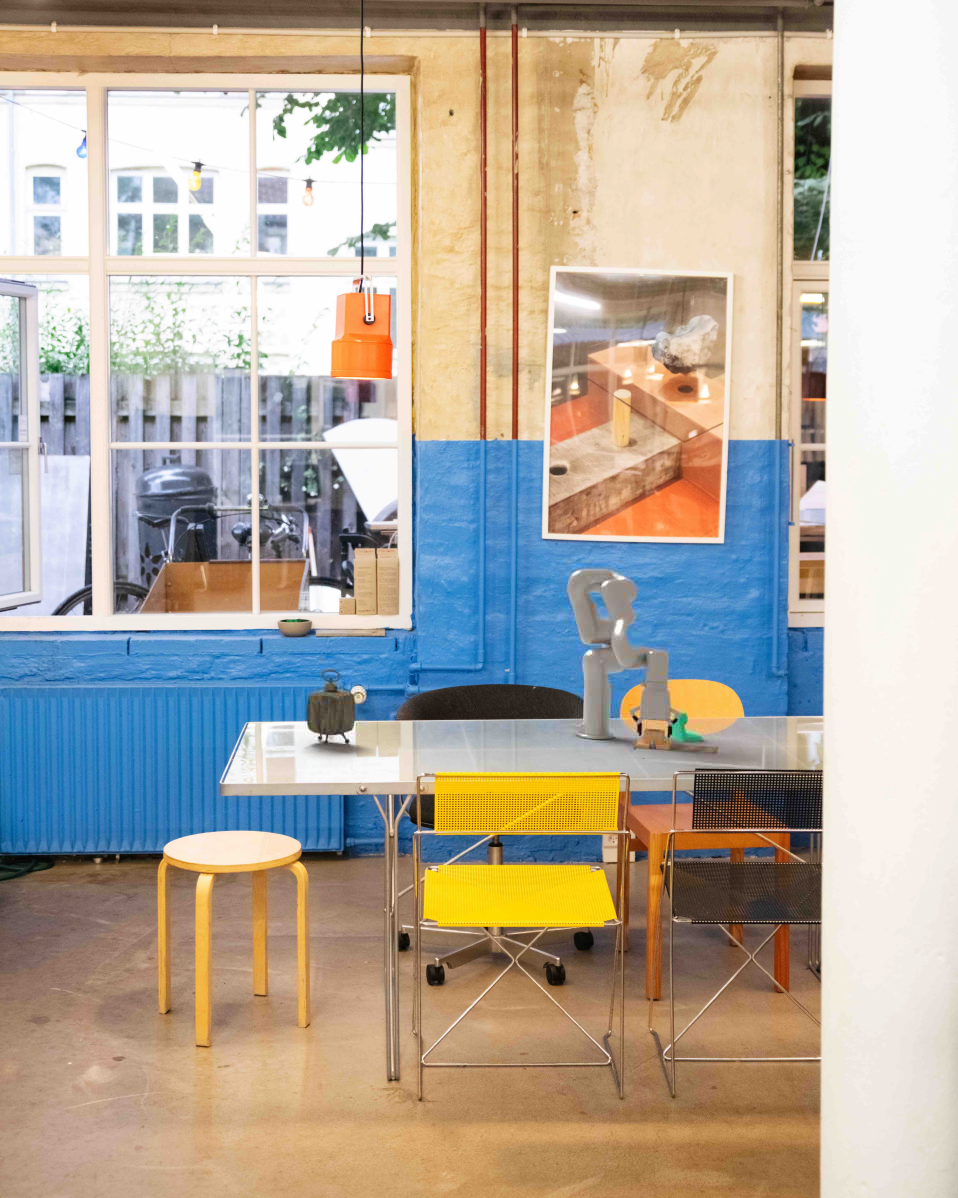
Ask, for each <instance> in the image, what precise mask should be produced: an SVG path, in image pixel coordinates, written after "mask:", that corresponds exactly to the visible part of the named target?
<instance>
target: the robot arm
mask: <svg viewBox="0 0 958 1198" xmlns="http://www.w3.org/2000/svg"><path fill="white" fill-rule="evenodd" d="M566 588H567V595H568V599H569V602H570V604H571V607H572V610H573V613H574V620H575V623H576V626H577V630H578V635H579V639H580V640H581V642H582V643H583V644H584V645H586V646H601V647H595V648H592V649H589V650H587V651H586V652H585V653H583V656H582V659H581V666H582V672H583V685H584V686H583V710H582V711H583V718H582V722H580V723H570V729H571V730H578V737H581V738H584V739H588V740H589V739H590V740H608V739H613V738H614V737H615V735H614V732H612V731H610V730H611V729H610V727H611V726H610V725H611V723H610V722H611V700H612V699H611V694H612V688H611V687H612V686H611V682H610V679H609V676H608V675H611V674H618V673H621V672H623V671H624V670H627V671H631V670H641V669H642V670H644V669H645V679H644V681H641V682H640V686H641V687H644V688H643V689H642V691H641V695H640V696H641V698H640V705H638V706H637V707H634V708H632V709H630V710H629V713H630V715H631V718H632V719H633V721H634V722H636V725H637V726H636V728H637V729H636V733H638V736H639V737H640V736H642V735H643V723H642V722H643V720H648V721H662V722H665V721H666V723H667V724H668V725H667V738H668V739H670V738H671V736H670V735H672V726H673V725H674V724H675V723H676V722H677V721H678V719H679V718H680V716H681V713H680V712H681V711H680V712H679V711H678V710H676V709H674V708H673V707H671V705H672V704H671V703H672V702H671V694H670V693H671V692H670V690H669V689H668V685H669V684H668V683H669V656H670V655H669V652H668V651H667V650H666V649H665V650H664V649H659V648H658V649H657V648H652V647H648V646H635V647H634V646H633V647H632V646H631V645H630V642H629V639H628V634H627V632H628V631H627V630H628V628H629V626H630V625H632V624H633V623H634V622H635V621H636V619H637V615H636V612H635V610H634V608H633V606H632V602H633V601H635V600H636V599H637V596H638V587H637V585H636V583H635V582H634V581H633V580H632V579H631V578H628V577H627V576H624V575H622V574H619V573H618V572H616V571H614V570H611V569H609V568H584V569H583V568H582V569H578V570H576V571H575V572H573V573H572V574H571V575H570V577H569V579H568V582H567V587H566ZM590 593H591V594H592V593H600V596H601V599H602V601H603V605H604V606H605V609H606V611H607V613H608V615H609V618H607V617H601V616H600V613H599V609H598V605H597V604H596V602H595V600H594V599H593V597H592V596H591V595H590ZM638 711H639V717H638V716H637V715H636V712H638ZM671 713H672V714H674V715H676V717H675V719H674V720H673V719H671Z"/></svg>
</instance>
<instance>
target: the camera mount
mask: <svg viewBox="0 0 958 1198" xmlns="http://www.w3.org/2000/svg"><path fill="white" fill-rule="evenodd" d="M680 713H681V716H680V718H679V719H678V721H677V722H676V723H675V724H674V725H673V726H672V735H670V737H673V738H674V739H677V740H679V741H681V742H702V741H703V736H702V735H700V734H698V733H696V732H693V731H692V730H686V725H687V724H688V722H689V721H688V720H689V719H688V714H687V712H684V711H683V712H681V711H680ZM675 717H676V715H675V714H674V715H673V718H672V720H674V719H675Z"/></svg>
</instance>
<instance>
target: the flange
mask: <svg viewBox="0 0 958 1198" xmlns="http://www.w3.org/2000/svg"><path fill="white" fill-rule="evenodd" d="M665 731H666V730H665V729H663V728H662V729H661V728H658V729H657V728H647V727H646V728H644V731H643V737H642V738H641V737H640V738H638V740H637V742H636V743H635V746H636V749H642V748H651V741H655V748H656V749H663V750H662V751H670V750H669V749H670V746H671V744H672V740H671V739H670V740H669V739H668V740H667V739H665V736H666V734H665V733H666V732H665ZM656 749H655V750H656Z"/></svg>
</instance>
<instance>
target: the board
mask: <svg viewBox="0 0 958 1198" xmlns="http://www.w3.org/2000/svg"><path fill="white" fill-rule="evenodd" d="M633 749H634V750H636V749H637V748H636V745H635V746H634V748H633ZM641 749H644V750H657V751H658V750H659V751H664V750H663V749H656V748H655V741H651V748H641ZM718 749H719V747H718V746H708V745H707V746H706V745H695V744H693V745H692V744H680V743H679V744H678V743H671V746H670V749H669V750H668V751H669V752H670V751H673V752H685V753H686V752H688V753H697V754H699V753H700V754H701V753H702V754H715V755H717V754H718Z"/></svg>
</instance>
